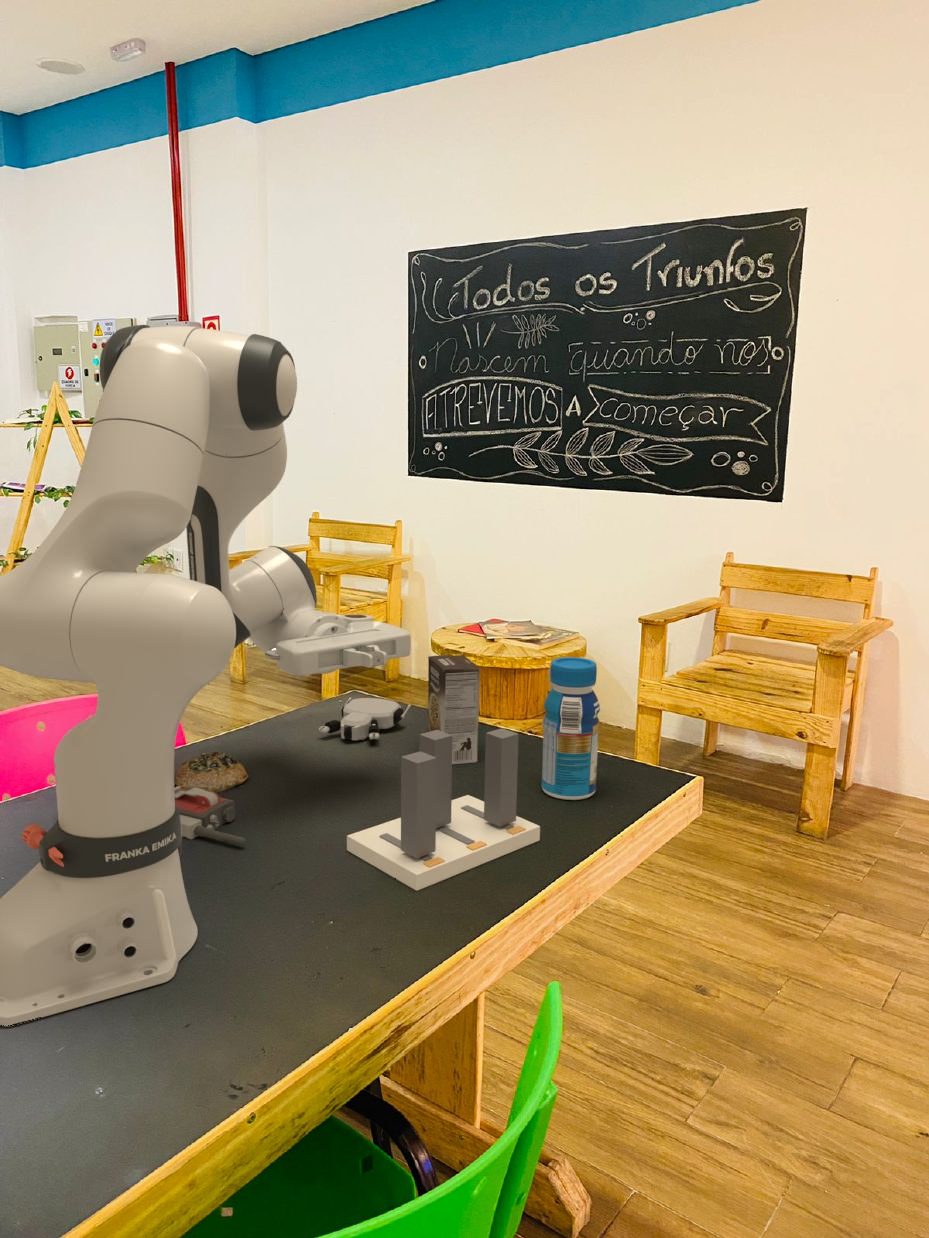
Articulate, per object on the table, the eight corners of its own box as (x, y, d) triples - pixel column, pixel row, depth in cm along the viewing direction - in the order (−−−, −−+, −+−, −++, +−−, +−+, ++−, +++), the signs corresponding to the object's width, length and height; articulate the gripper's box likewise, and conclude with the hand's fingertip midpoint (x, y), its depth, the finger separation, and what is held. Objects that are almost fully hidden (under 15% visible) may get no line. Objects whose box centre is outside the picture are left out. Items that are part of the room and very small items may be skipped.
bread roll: (198, 764, 147) (199, 735, 146) (260, 781, 144) (263, 752, 143) (156, 792, 137) (158, 761, 135) (223, 811, 134) (225, 779, 133)
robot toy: (379, 754, 156) (412, 722, 169) (378, 729, 155) (412, 699, 168) (314, 745, 160) (352, 715, 173) (313, 721, 158) (351, 692, 172)
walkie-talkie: (122, 824, 125) (239, 855, 117) (120, 794, 124) (238, 822, 116) (169, 801, 133) (281, 829, 124) (167, 773, 132) (281, 798, 123)
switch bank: (416, 890, 108) (416, 873, 107) (346, 850, 118) (346, 834, 117) (539, 840, 121) (540, 824, 121) (467, 807, 132) (468, 793, 131)
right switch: (499, 826, 119) (502, 738, 117) (483, 819, 122) (485, 732, 119) (516, 820, 121) (518, 733, 119) (500, 813, 124) (502, 728, 121)
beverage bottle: (528, 789, 139) (532, 660, 135) (566, 776, 144) (571, 652, 140) (570, 806, 133) (576, 672, 129) (608, 792, 138) (614, 663, 134)
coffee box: (426, 747, 156) (427, 655, 153) (462, 744, 158) (464, 653, 155) (441, 766, 148) (442, 668, 145) (479, 762, 150) (481, 666, 147)
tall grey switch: (416, 858, 110) (417, 763, 108) (400, 850, 112) (401, 756, 110) (435, 851, 112) (436, 757, 110) (419, 843, 114) (420, 751, 112)
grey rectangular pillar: (433, 829, 118) (434, 740, 116) (418, 821, 121) (419, 734, 118) (451, 822, 120) (452, 735, 118) (436, 815, 123) (437, 729, 120)
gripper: (258, 630, 128) (313, 648, 118) (376, 613, 141) (434, 628, 131) (259, 674, 129) (314, 696, 119) (376, 653, 143) (434, 671, 133)
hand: (378, 660), depth 125 cm, fingers closed
